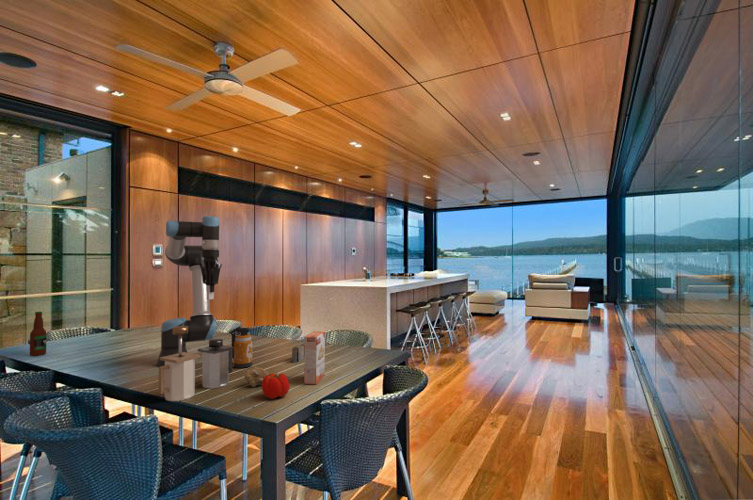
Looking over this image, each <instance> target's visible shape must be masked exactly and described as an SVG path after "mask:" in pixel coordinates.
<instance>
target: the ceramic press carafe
mask: <svg viewBox="0 0 753 500" xmlns="http://www.w3.org/2000/svg"><path fill="white" fill-rule="evenodd" d="M199 358H201V354H197V353H191V352H187V353H186V352H182V357H179V353H178V354H173V355H169V356H164V357H160V360H162V361H165V366H161V367H160V366H158V394H159V395H164V399H165V401H167V402H178V401H179V400H181V401H186V400H188V399H191V398H193V397H194V396H195V391H196V390H195V387H196V378H195V377H196V359H199ZM185 399H186V400H185ZM179 402H180V401H179Z"/></svg>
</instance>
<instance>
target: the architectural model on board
mask: <svg viewBox="0 0 753 500" xmlns="http://www.w3.org/2000/svg"><path fill="white" fill-rule="evenodd" d="M303 358H304V359H305V344H297V345H295V346H293V347H292V348H291V363H293V364H298V362H301V361H302V360H304V359H303ZM300 360H301V361H300Z"/></svg>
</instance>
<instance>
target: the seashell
mask: <svg viewBox="0 0 753 500" xmlns="http://www.w3.org/2000/svg"><path fill="white" fill-rule="evenodd" d="M269 374H270V372H268V371H267V370H266V369H264V368H262V367H259V366H258V367H257V366H254V367H252V368H250V369H248V370H246V372H245V373H244V380H245V381H246V382H247V383H249V385H250V386H251V387H252V388H255V387H256V386H262V381H263V379H264V377H265V376H267V375H269Z"/></svg>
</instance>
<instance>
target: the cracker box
mask: <svg viewBox="0 0 753 500" xmlns="http://www.w3.org/2000/svg"><path fill="white" fill-rule="evenodd" d="M325 338H326V332H325V331H322V330H321V331H319V330H317V331H316V330H315V331H314V330H313V331H312V332H310V333H309V334H307V335H305V336H304V345H305V358H304V363H303V364H304V366H303V368H304V370H303V371H304V374H303V375H304V376H303V377H304V378H303V380H304V381H303V382H304V383H303V384H304V385H317V384H318V383H319V382H320V381H321V380H322V379H323V378H324V377H325V360H326V359H325V353H326V352H325V350H326V347H325V345H326V342H325V341H326V339H325ZM322 377H323V378H322Z"/></svg>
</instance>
